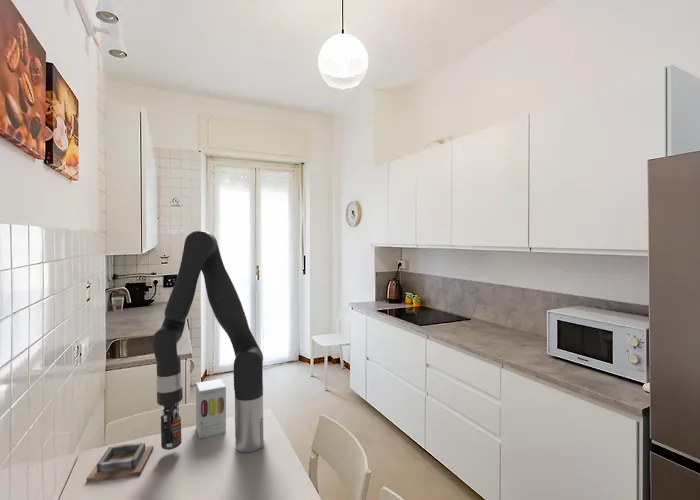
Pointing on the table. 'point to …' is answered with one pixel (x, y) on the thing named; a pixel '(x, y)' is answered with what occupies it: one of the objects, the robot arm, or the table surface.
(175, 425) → the supplement bottle
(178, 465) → the table surface
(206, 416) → the supplement box
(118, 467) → the collar holder
